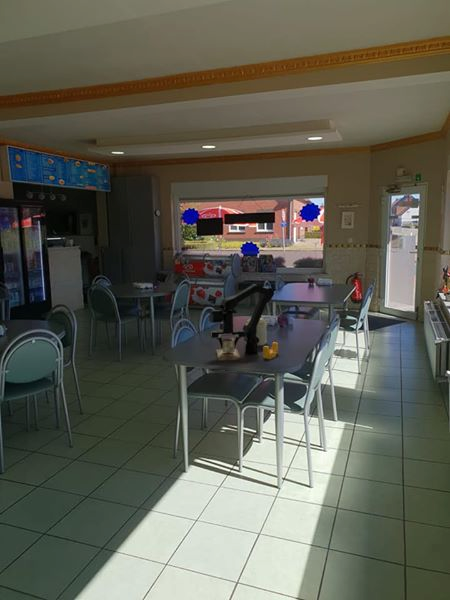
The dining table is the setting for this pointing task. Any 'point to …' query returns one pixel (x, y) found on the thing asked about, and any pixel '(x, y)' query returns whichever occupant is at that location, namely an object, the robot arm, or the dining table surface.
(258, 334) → the jar
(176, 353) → the dining table surface
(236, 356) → the post board
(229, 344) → the collar
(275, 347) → the pipe clamp
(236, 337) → the robot arm
